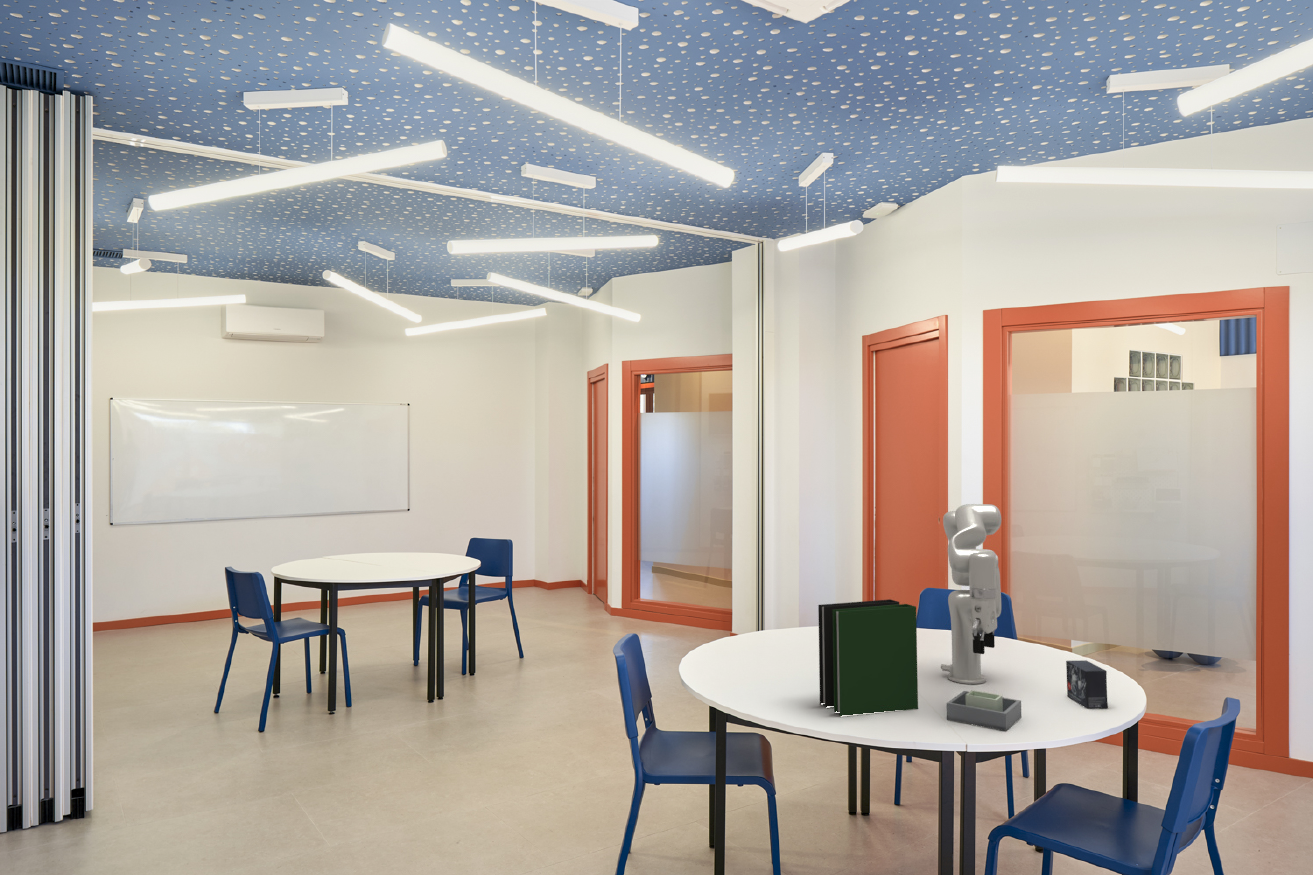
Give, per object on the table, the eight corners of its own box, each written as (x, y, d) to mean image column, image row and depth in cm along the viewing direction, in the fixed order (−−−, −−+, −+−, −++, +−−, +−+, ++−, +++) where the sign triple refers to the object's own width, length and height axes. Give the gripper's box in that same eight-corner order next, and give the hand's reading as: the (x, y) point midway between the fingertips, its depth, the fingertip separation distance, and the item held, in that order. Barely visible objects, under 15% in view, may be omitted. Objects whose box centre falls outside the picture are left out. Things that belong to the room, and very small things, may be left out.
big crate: (946, 719, 241) (946, 702, 241) (964, 706, 254) (964, 690, 254) (1006, 731, 230) (1005, 713, 231) (1021, 717, 243) (1021, 700, 243)
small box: (1066, 696, 263) (1065, 659, 264) (1087, 696, 263) (1086, 659, 264) (1086, 709, 250) (1085, 670, 251) (1108, 709, 250) (1107, 670, 250)
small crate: (965, 714, 243) (965, 694, 243) (972, 709, 247) (971, 690, 247) (996, 720, 237) (996, 699, 237) (1002, 715, 242) (1002, 695, 242)
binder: (841, 717, 244) (839, 612, 245) (817, 703, 258) (816, 604, 259) (918, 708, 252) (916, 606, 253) (890, 695, 266) (889, 598, 267)
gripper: (986, 598, 234) (987, 657, 234) (1004, 590, 248) (1005, 646, 247) (960, 596, 239) (961, 653, 239) (979, 588, 252) (980, 643, 252)
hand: (983, 650), depth 243 cm, fingers open, 9 cm apart
